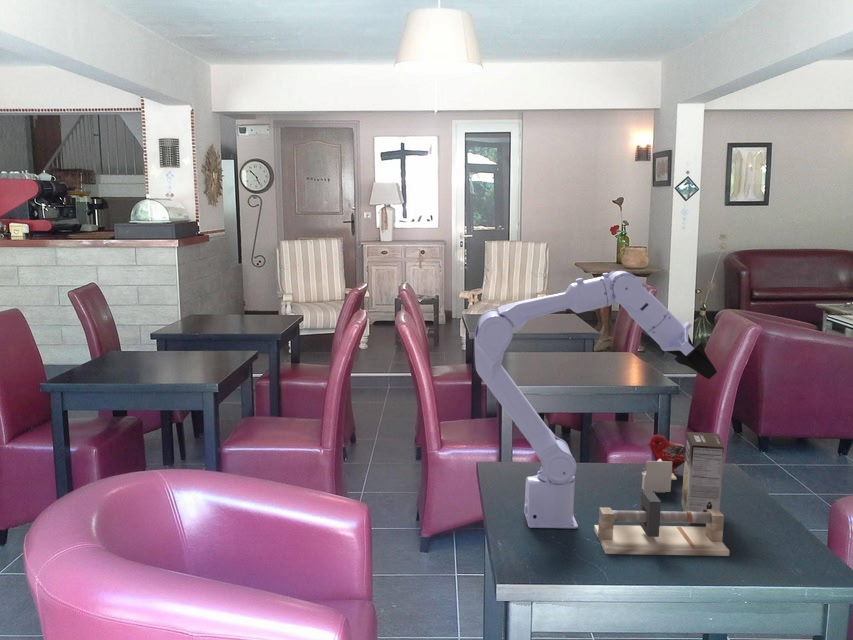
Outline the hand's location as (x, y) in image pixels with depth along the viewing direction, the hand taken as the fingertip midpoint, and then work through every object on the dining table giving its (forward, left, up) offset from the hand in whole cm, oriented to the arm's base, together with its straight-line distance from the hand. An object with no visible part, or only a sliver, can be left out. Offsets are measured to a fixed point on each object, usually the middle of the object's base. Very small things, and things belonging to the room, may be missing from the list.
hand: (706, 370), depth 143 cm
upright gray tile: (-11, -8, -29) cm, 32 cm away
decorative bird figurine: (+6, +29, -31) cm, 43 cm away
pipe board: (-9, -8, -31) cm, 33 cm away
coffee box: (+3, +5, -31) cm, 32 cm away
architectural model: (-2, +18, -32) cm, 36 cm away
